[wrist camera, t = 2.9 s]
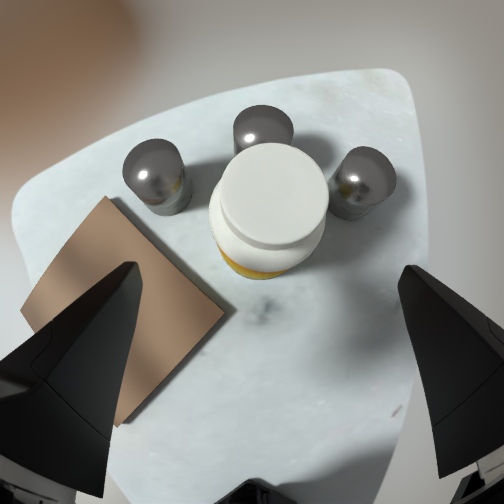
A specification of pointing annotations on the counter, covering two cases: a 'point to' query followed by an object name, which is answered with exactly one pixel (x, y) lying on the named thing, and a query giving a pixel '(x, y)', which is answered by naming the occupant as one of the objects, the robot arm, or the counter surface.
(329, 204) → the standoff posts
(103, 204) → the walnut board
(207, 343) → the counter surface
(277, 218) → the supplement bottle
